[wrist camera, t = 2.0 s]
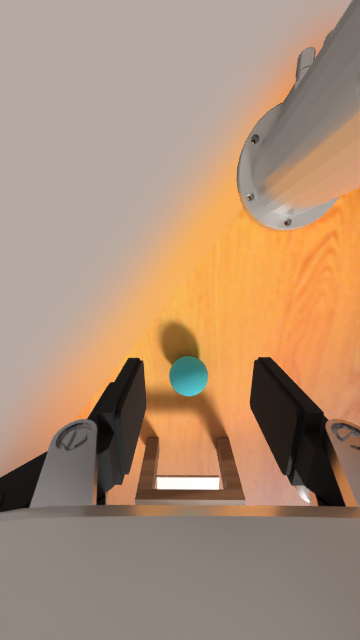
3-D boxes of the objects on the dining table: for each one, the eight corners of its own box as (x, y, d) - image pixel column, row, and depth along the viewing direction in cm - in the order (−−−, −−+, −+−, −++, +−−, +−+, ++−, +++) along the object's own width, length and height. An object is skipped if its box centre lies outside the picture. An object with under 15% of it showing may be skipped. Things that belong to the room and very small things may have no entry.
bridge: (147, 437, 33) (135, 499, 25) (228, 437, 33) (245, 500, 24) (148, 450, 34) (136, 514, 25) (227, 450, 34) (243, 515, 25)
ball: (170, 349, 29) (167, 368, 23) (206, 349, 29) (211, 368, 23) (170, 380, 30) (168, 405, 25) (205, 380, 30) (209, 405, 25)
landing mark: (156, 476, 36) (156, 477, 36) (219, 476, 36) (219, 477, 36) (159, 517, 39) (159, 518, 39) (216, 518, 39) (216, 519, 39)
